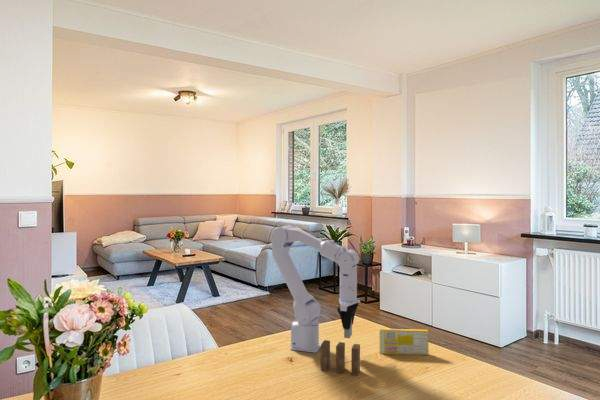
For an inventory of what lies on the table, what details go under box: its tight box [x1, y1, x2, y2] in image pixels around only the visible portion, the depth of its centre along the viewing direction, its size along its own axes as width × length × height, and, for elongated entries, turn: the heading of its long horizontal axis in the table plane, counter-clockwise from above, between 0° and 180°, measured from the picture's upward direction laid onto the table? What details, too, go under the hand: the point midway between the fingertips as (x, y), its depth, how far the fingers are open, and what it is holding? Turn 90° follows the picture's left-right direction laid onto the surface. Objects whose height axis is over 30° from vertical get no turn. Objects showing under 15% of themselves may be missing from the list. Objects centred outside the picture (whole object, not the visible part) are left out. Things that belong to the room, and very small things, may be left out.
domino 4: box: [350, 343, 361, 376], centre depth 125 cm, size 2×4×8 cm, turn 161°
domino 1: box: [320, 339, 331, 372], centre depth 128 cm, size 2×4×8 cm, turn 161°
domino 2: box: [335, 341, 346, 374], centre depth 127 cm, size 2×4×8 cm, turn 161°
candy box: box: [378, 327, 430, 356], centre depth 140 cm, size 16×2×8 cm, turn 84°
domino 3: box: [343, 319, 353, 339], centre depth 138 cm, size 2×4×8 cm, turn 161°
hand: (347, 326), depth 138 cm, fingers closed on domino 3, 4 cm apart
